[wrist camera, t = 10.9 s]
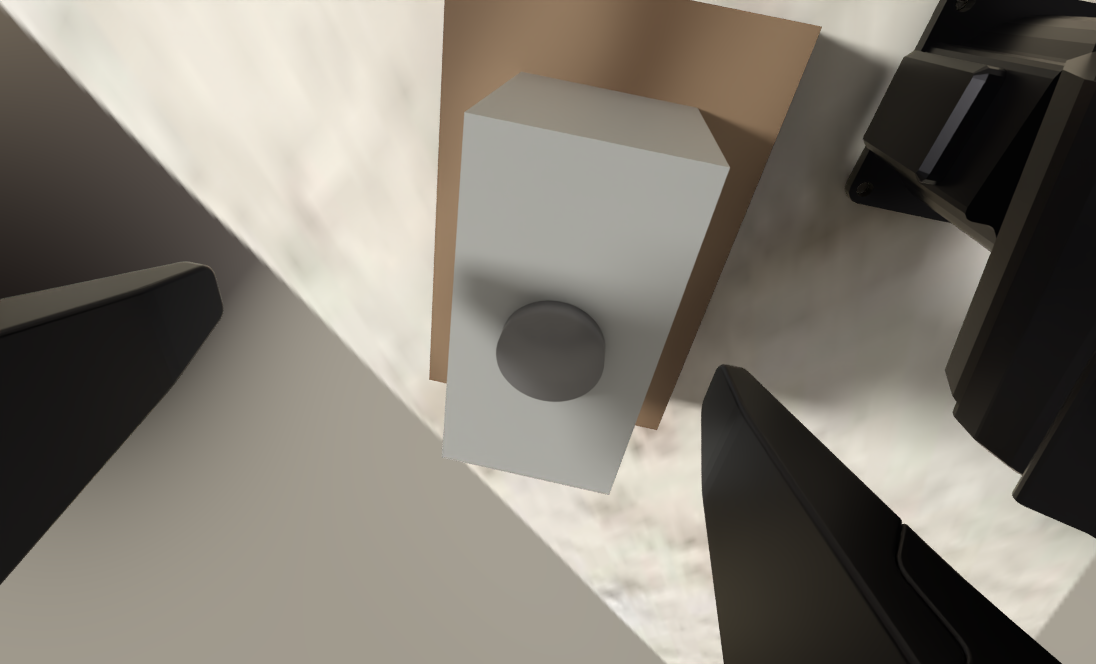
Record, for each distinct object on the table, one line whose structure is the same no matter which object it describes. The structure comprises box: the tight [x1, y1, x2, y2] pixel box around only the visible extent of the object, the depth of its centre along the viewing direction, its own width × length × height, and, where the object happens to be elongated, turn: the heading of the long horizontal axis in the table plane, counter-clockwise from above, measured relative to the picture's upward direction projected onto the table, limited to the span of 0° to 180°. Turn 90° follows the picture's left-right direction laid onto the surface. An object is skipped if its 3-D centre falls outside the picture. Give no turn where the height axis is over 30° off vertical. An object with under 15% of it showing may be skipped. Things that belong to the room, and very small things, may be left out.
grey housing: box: [442, 72, 730, 495], centre depth 15 cm, size 10×5×7 cm, turn 170°
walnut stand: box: [429, 0, 822, 430], centre depth 19 cm, size 10×15×3 cm, turn 170°
